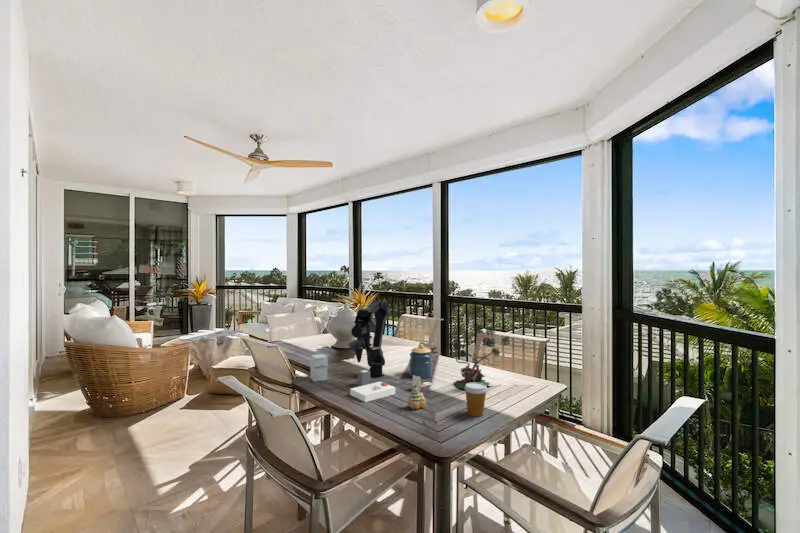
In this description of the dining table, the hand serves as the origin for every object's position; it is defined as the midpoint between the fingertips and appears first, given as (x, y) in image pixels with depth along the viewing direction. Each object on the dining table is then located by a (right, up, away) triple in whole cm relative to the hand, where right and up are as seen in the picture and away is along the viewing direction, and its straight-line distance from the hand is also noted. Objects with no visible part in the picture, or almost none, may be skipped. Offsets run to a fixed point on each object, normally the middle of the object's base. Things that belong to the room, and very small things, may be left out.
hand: (364, 364), depth 201 cm
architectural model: (+27, -12, -7) cm, 30 cm away
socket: (+5, -11, -14) cm, 18 cm away
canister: (+30, -11, +19) cm, 37 cm away
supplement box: (-25, -10, +9) cm, 29 cm away
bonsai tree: (+61, -12, +1) cm, 62 cm away
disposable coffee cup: (+50, -12, -36) cm, 63 cm away
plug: (0, -11, 0) cm, 11 cm away
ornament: (+26, -12, -29) cm, 41 cm away
